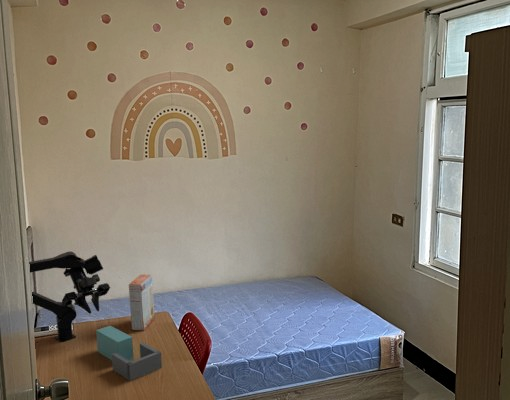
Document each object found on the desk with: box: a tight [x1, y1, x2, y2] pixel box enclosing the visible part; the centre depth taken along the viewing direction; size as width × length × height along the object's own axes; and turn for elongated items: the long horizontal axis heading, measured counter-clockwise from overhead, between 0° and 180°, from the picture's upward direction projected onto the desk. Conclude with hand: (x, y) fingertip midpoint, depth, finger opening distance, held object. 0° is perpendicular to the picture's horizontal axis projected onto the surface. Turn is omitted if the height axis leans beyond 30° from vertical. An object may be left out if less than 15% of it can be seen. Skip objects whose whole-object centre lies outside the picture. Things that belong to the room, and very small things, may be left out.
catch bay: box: [111, 342, 163, 382], centre depth 180 cm, size 12×13×6 cm
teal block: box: [95, 325, 134, 362], centre depth 191 cm, size 16×6×9 cm, turn 46°
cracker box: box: [128, 274, 155, 331], centre depth 219 cm, size 14×6×21 cm, turn 172°
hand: (94, 312), depth 199 cm, fingers open, 3 cm apart
